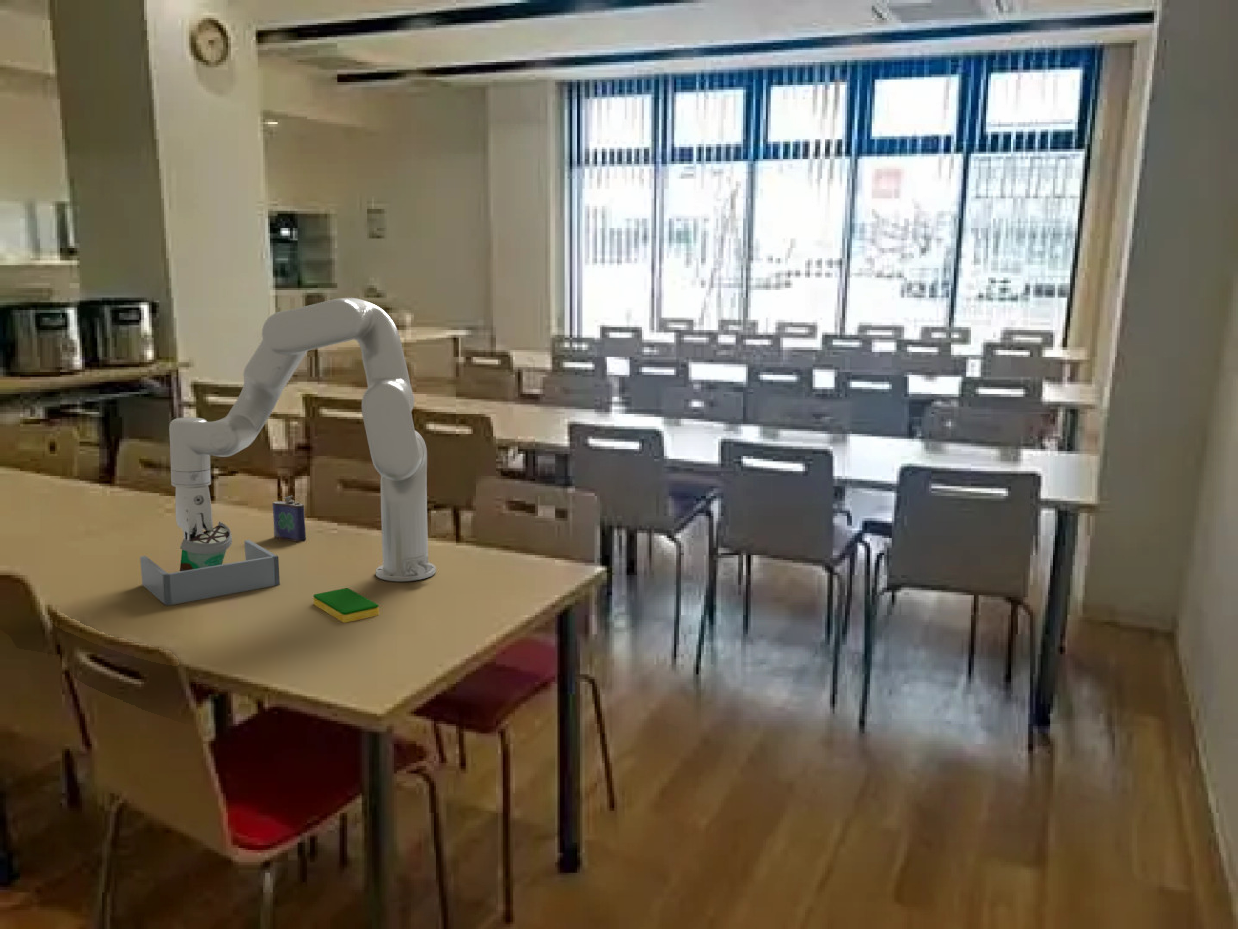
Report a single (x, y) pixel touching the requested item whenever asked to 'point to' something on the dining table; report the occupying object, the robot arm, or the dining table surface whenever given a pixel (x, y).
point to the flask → (289, 520)
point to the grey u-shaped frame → (212, 577)
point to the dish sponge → (346, 605)
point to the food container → (206, 548)
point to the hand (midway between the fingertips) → (193, 562)
